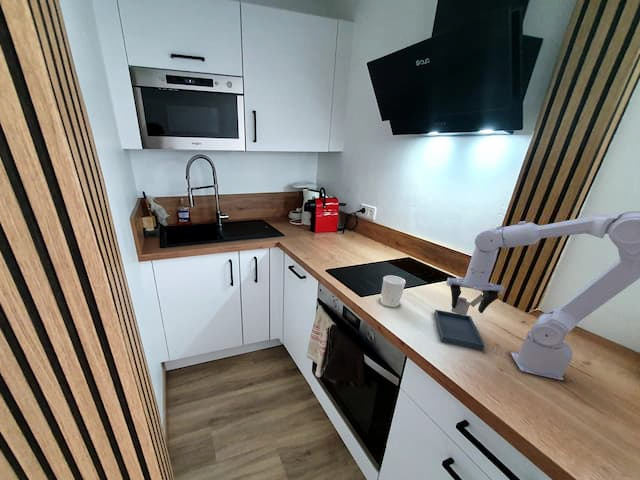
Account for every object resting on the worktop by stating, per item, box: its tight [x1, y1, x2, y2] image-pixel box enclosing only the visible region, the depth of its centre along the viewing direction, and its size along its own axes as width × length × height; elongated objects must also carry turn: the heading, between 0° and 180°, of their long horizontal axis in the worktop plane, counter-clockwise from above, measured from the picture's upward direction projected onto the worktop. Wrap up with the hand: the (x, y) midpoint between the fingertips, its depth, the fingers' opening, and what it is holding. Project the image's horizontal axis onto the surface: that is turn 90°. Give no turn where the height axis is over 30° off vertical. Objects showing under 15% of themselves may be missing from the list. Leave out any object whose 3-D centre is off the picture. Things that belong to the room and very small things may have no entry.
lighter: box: [450, 294, 485, 316], centre depth 89 cm, size 7×2×8 cm, turn 46°
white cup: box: [380, 274, 406, 308], centre depth 108 cm, size 8×8×10 cm
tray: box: [433, 309, 485, 351], centre depth 94 cm, size 11×17×2 cm, turn 160°
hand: (466, 309), depth 89 cm, fingers closed on lighter, 7 cm apart
